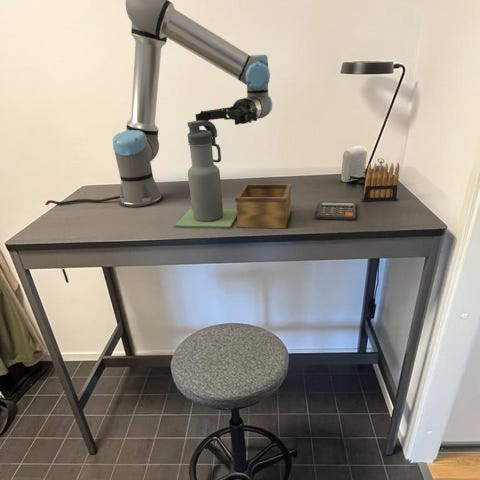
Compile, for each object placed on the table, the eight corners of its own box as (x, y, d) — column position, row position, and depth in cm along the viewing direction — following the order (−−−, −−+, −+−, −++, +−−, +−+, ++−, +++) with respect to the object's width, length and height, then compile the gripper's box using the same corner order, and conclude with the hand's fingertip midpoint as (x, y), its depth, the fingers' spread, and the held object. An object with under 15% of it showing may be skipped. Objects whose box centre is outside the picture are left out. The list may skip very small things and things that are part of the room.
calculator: (316, 215, 122) (320, 200, 134) (316, 218, 122) (319, 203, 134) (355, 216, 119) (355, 201, 131) (355, 219, 120) (355, 204, 132)
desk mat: (174, 227, 124) (174, 225, 124) (190, 210, 137) (189, 208, 137) (230, 228, 120) (230, 226, 120) (240, 210, 133) (240, 208, 133)
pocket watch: (391, 182, 150) (395, 154, 145) (393, 188, 144) (397, 159, 138) (368, 182, 152) (372, 154, 147) (369, 188, 146) (373, 159, 140)
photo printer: (357, 176, 160) (360, 143, 153) (365, 178, 157) (369, 144, 150) (339, 181, 156) (341, 147, 149) (347, 183, 153) (350, 149, 146)
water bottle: (210, 209, 134) (201, 117, 119) (230, 215, 128) (223, 119, 113) (187, 218, 128) (174, 122, 113) (206, 224, 122) (195, 125, 107)
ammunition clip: (363, 201, 134) (367, 164, 127) (362, 199, 135) (366, 163, 129) (396, 200, 133) (402, 163, 126) (394, 198, 134) (400, 161, 127)
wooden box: (237, 227, 120) (235, 198, 115) (246, 211, 133) (244, 183, 128) (286, 228, 117) (286, 198, 112) (291, 211, 130) (291, 183, 125)
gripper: (280, 123, 133) (253, 133, 117) (215, 122, 143) (183, 131, 127) (280, 97, 129) (252, 105, 113) (213, 98, 139) (180, 105, 123)
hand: (215, 119), depth 120 cm, fingers open, 13 cm apart
